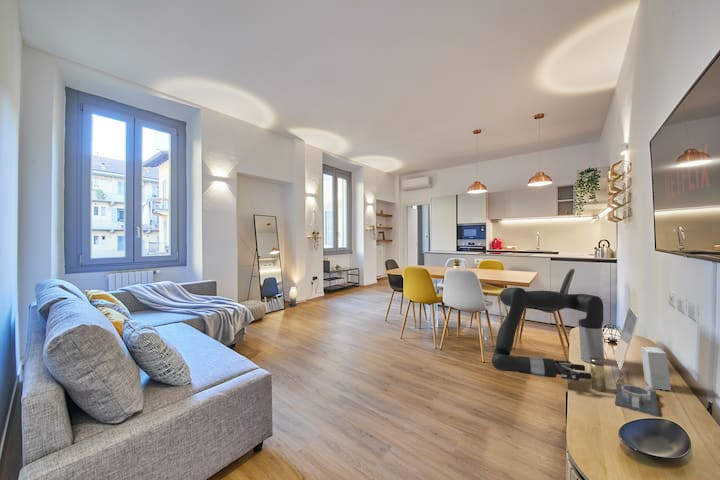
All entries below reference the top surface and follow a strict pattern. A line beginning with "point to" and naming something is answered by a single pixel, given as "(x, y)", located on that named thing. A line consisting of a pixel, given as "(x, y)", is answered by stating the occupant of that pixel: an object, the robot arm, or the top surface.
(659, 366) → the skincare box
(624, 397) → the socket base
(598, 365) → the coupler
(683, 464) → the top surface
